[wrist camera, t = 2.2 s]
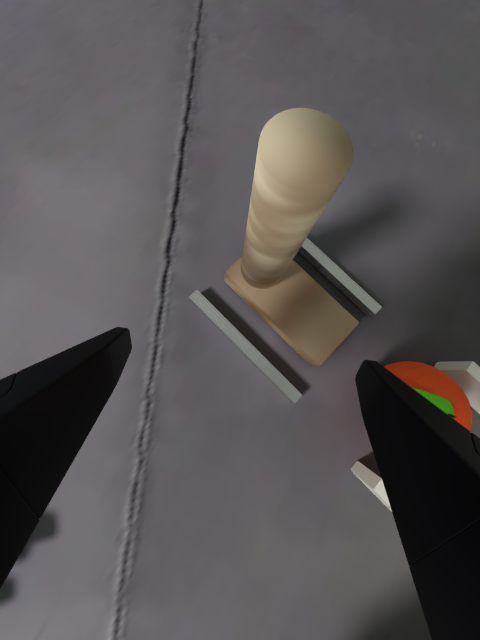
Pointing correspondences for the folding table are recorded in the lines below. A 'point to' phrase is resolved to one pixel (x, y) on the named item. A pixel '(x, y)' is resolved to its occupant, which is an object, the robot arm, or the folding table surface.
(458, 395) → the clementine
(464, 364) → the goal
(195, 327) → the folding table surface
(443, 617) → the robot arm
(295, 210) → the ball
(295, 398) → the rails
